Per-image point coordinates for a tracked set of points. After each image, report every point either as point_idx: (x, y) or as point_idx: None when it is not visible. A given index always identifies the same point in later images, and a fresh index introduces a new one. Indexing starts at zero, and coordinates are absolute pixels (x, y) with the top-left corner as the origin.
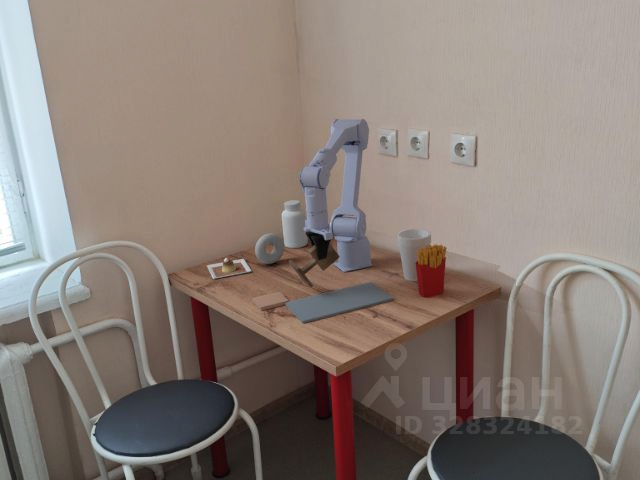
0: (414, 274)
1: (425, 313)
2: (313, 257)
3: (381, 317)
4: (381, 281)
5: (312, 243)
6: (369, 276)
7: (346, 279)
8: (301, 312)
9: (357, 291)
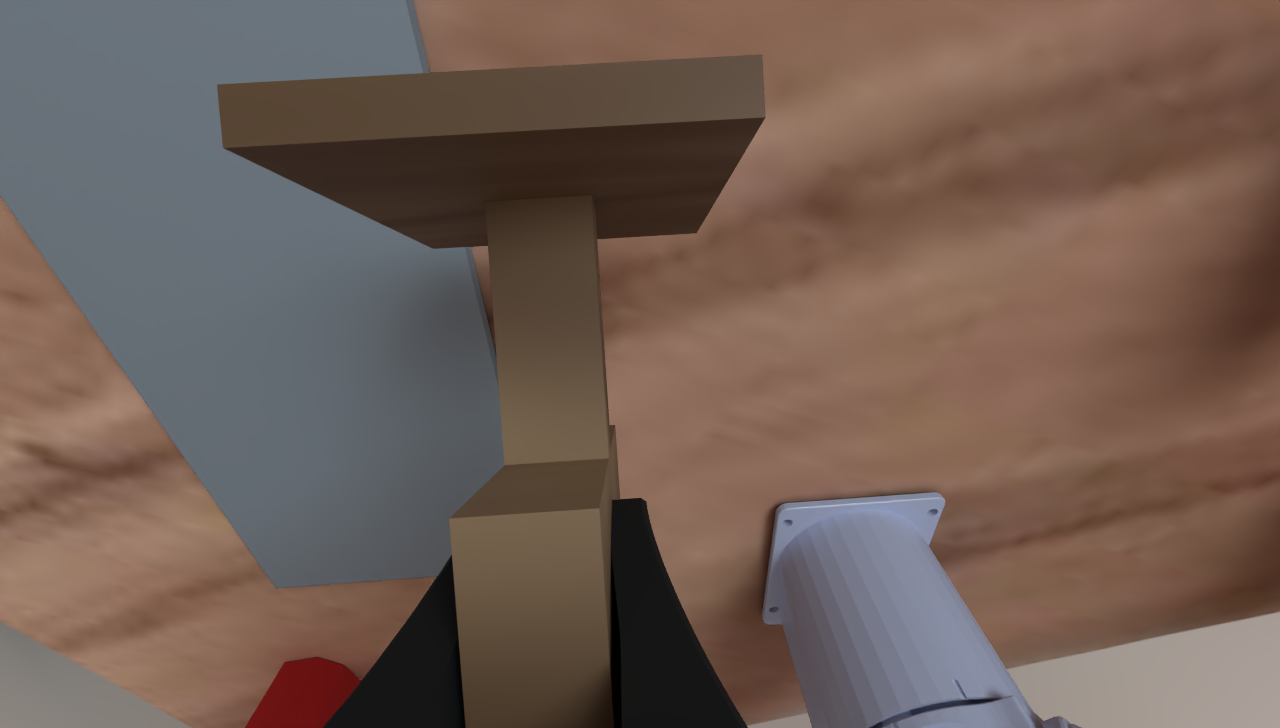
0: None
1: (90, 626)
2: (501, 480)
3: (28, 477)
4: None
5: (624, 710)
6: None
7: (674, 483)
8: None
9: (425, 484)
